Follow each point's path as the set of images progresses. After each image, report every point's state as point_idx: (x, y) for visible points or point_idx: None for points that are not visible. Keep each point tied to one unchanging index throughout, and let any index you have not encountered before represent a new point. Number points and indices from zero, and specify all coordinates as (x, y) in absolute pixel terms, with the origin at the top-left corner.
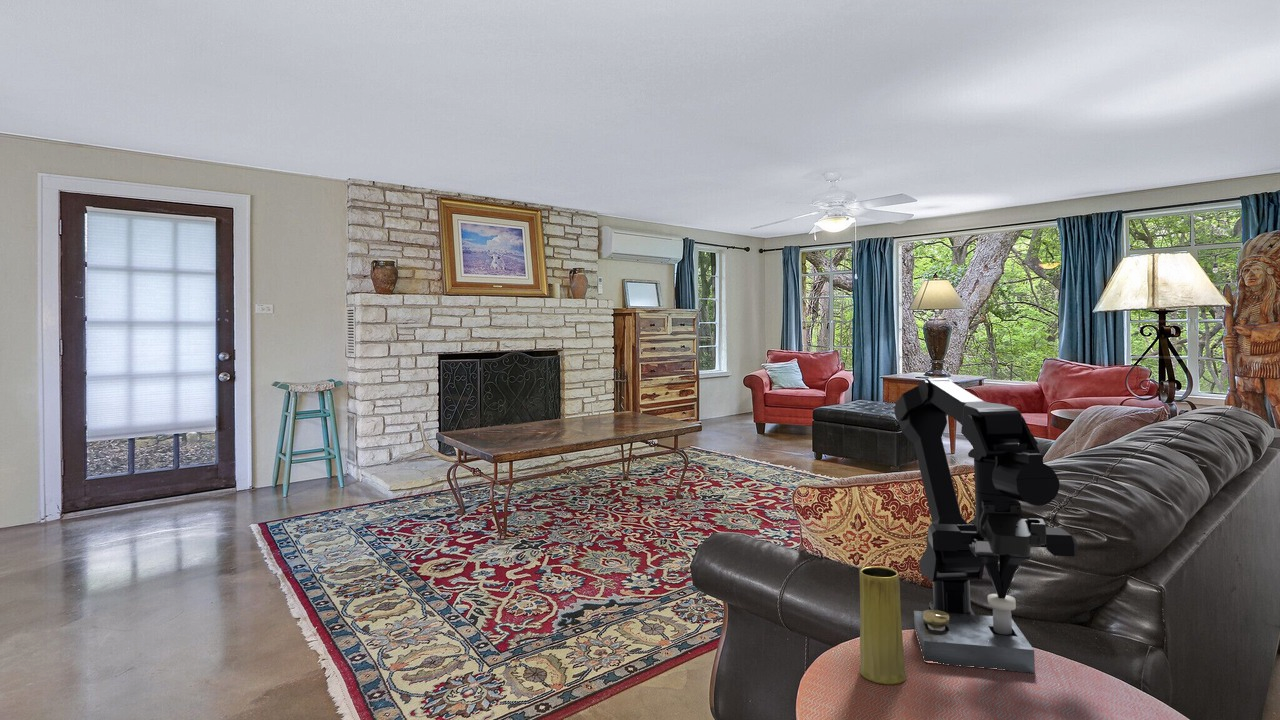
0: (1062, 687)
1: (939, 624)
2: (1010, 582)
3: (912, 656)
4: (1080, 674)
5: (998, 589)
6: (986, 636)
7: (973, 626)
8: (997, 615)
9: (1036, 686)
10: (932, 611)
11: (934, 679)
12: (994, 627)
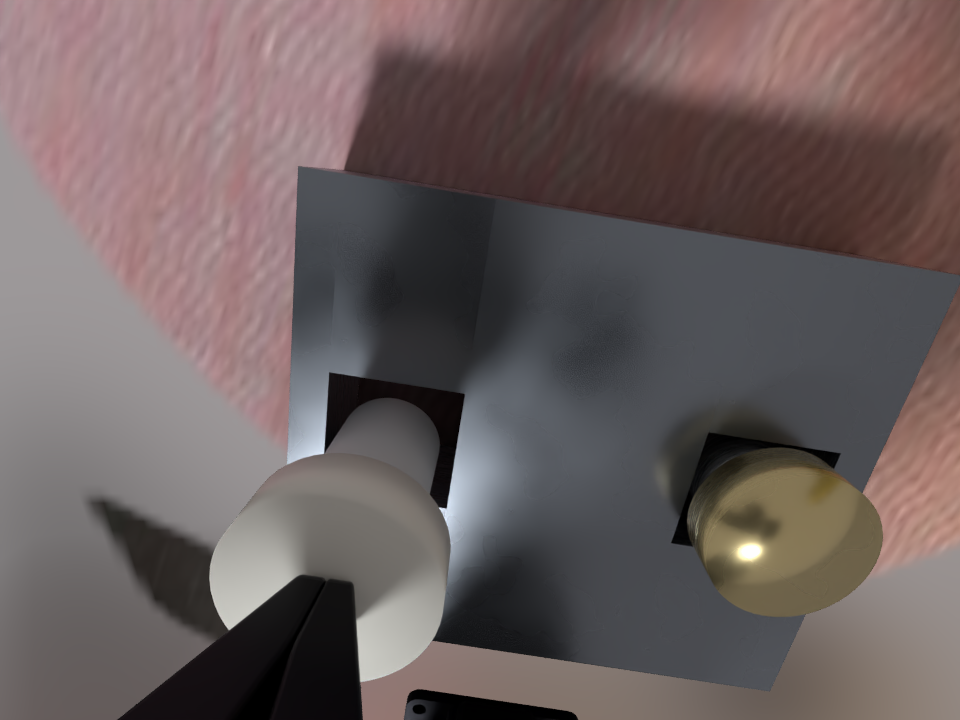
0: (260, 3)
1: (790, 454)
2: (138, 706)
3: None
4: (128, 176)
5: (332, 642)
6: (517, 363)
7: (533, 501)
8: (409, 473)
9: (390, 4)
10: (793, 588)
11: (914, 50)
12: (435, 450)
